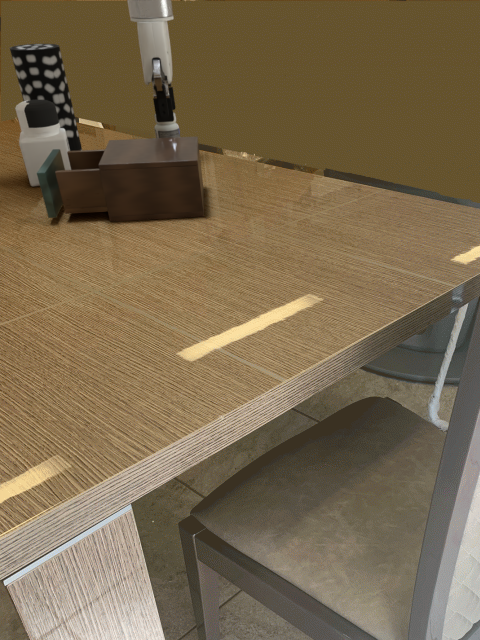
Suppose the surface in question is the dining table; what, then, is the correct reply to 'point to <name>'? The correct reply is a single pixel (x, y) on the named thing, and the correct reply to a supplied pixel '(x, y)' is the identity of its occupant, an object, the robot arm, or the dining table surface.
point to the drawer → (72, 183)
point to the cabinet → (152, 179)
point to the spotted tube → (46, 83)
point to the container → (40, 135)
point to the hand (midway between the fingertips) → (166, 115)
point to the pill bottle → (167, 129)
